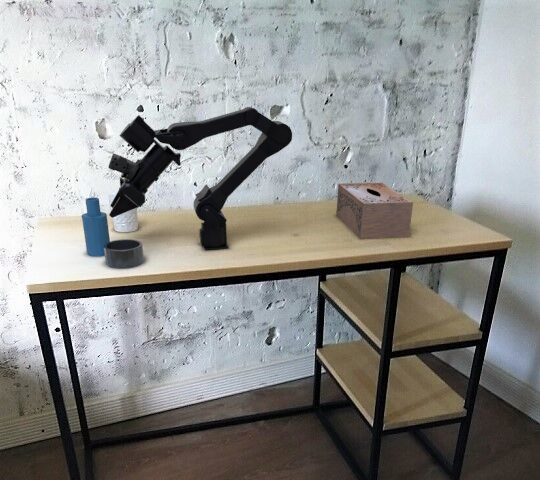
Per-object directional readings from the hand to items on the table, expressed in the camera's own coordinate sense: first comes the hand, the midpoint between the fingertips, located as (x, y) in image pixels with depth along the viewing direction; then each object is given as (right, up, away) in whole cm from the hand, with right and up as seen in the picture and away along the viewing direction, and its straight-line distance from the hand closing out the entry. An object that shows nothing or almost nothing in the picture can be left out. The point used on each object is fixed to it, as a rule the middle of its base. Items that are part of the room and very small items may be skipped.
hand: (111, 211), depth 141 cm
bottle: (-4, -10, +4) cm, 11 cm away
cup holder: (+4, -13, -2) cm, 14 cm away
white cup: (-2, 0, +23) cm, 23 cm away
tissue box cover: (+71, +2, +30) cm, 77 cm away
